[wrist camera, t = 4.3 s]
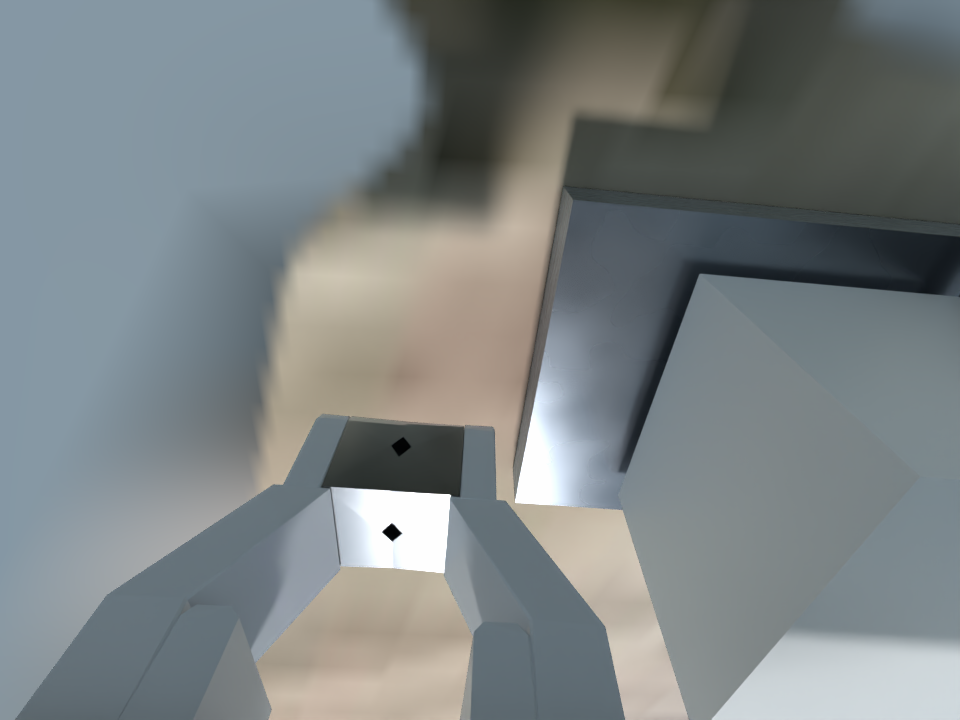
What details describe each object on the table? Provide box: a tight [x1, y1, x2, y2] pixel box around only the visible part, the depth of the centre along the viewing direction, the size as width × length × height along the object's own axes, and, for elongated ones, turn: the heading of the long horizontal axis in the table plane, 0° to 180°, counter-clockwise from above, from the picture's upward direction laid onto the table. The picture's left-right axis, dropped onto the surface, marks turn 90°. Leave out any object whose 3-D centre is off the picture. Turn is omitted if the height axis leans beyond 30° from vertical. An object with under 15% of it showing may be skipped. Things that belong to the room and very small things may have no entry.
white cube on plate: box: [618, 274, 960, 720], centre depth 8 cm, size 6×8×5 cm, turn 175°
